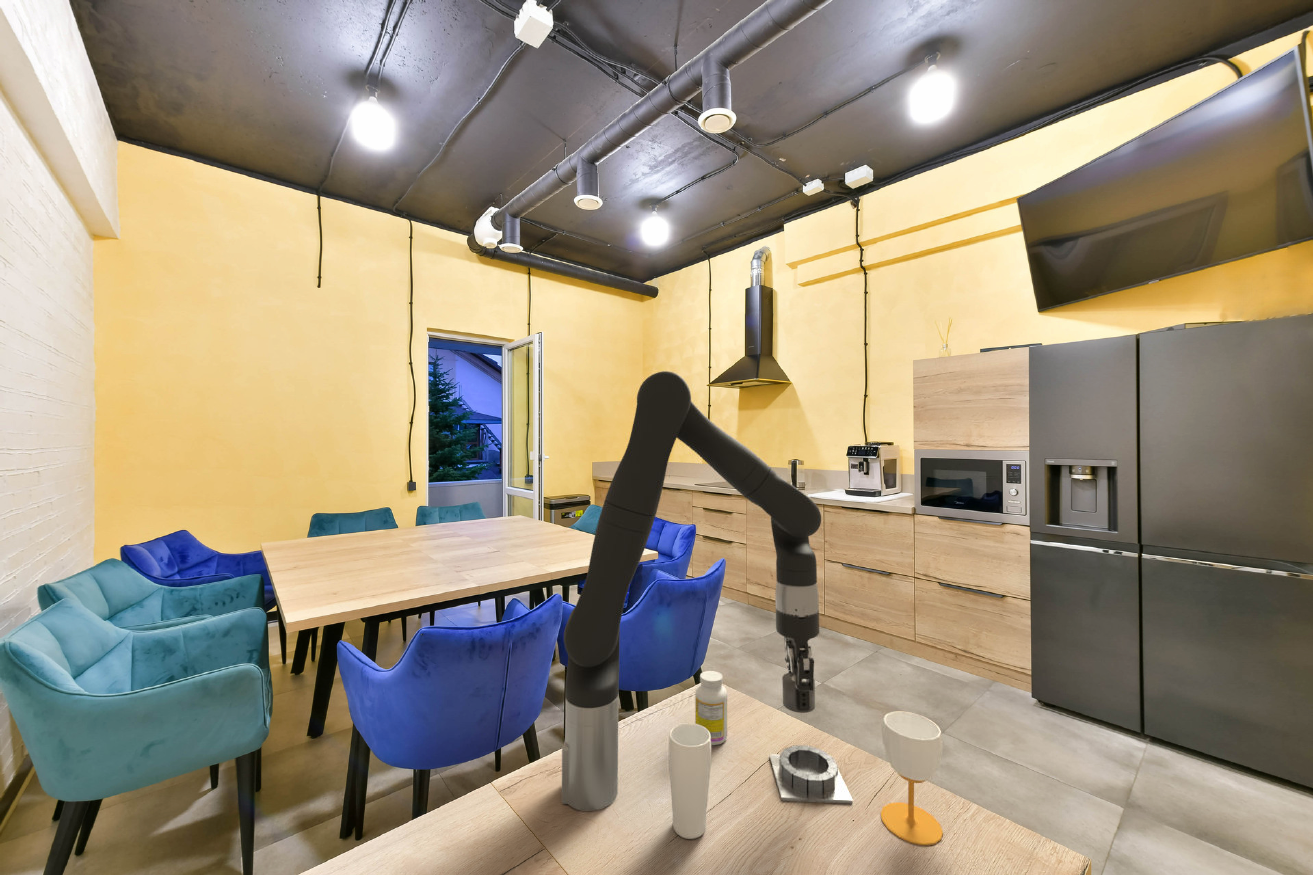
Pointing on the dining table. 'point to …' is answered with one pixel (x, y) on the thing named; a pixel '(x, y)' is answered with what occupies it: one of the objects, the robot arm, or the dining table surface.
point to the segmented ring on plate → (808, 776)
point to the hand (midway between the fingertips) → (798, 699)
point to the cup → (912, 773)
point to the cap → (790, 694)
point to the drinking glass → (689, 778)
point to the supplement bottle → (712, 706)
